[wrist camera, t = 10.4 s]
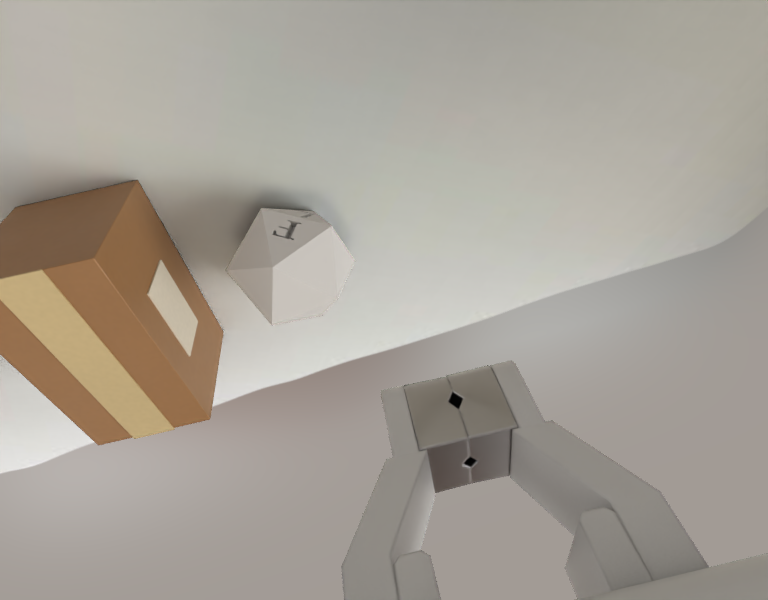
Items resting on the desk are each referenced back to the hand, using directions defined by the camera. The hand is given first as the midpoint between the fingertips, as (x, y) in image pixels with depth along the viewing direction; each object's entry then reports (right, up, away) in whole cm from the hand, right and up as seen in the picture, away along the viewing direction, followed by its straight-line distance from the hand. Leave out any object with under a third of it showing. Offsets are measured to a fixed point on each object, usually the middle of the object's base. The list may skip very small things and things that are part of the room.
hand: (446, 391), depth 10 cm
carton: (-22, +4, +28) cm, 36 cm away
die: (-9, +7, +28) cm, 30 cm away
